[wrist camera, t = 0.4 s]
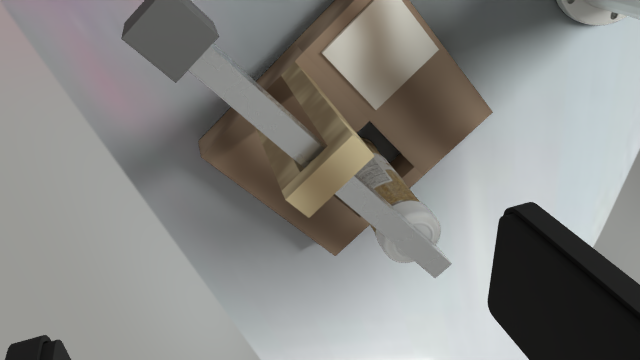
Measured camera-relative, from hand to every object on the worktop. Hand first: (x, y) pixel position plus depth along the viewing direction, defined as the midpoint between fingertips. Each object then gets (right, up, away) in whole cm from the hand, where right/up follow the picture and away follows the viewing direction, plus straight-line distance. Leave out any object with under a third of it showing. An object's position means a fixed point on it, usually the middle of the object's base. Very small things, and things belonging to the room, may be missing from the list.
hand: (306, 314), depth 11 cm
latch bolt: (0, +4, +21) cm, 21 cm away
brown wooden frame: (+3, +8, +35) cm, 36 cm away
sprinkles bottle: (+3, +5, +37) cm, 38 cm away
